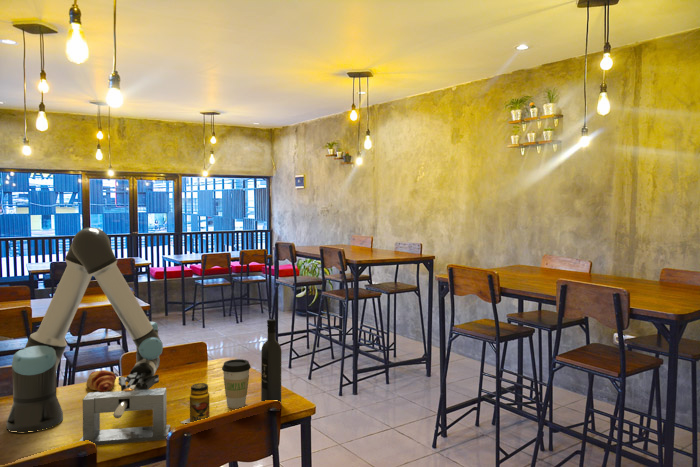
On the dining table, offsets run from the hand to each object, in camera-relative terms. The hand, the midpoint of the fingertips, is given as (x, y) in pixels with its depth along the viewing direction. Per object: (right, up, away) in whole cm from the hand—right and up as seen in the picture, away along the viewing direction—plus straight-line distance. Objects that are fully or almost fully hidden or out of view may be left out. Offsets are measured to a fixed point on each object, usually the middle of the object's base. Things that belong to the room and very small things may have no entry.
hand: (129, 396), depth 154 cm
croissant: (-29, -10, +41) cm, 51 cm away
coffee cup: (+28, -11, +23) cm, 37 cm away
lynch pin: (+1, -3, -7) cm, 8 cm away
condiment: (+18, -11, +9) cm, 23 cm away
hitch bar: (+1, -11, -3) cm, 12 cm away
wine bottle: (+40, -11, +24) cm, 47 cm away
